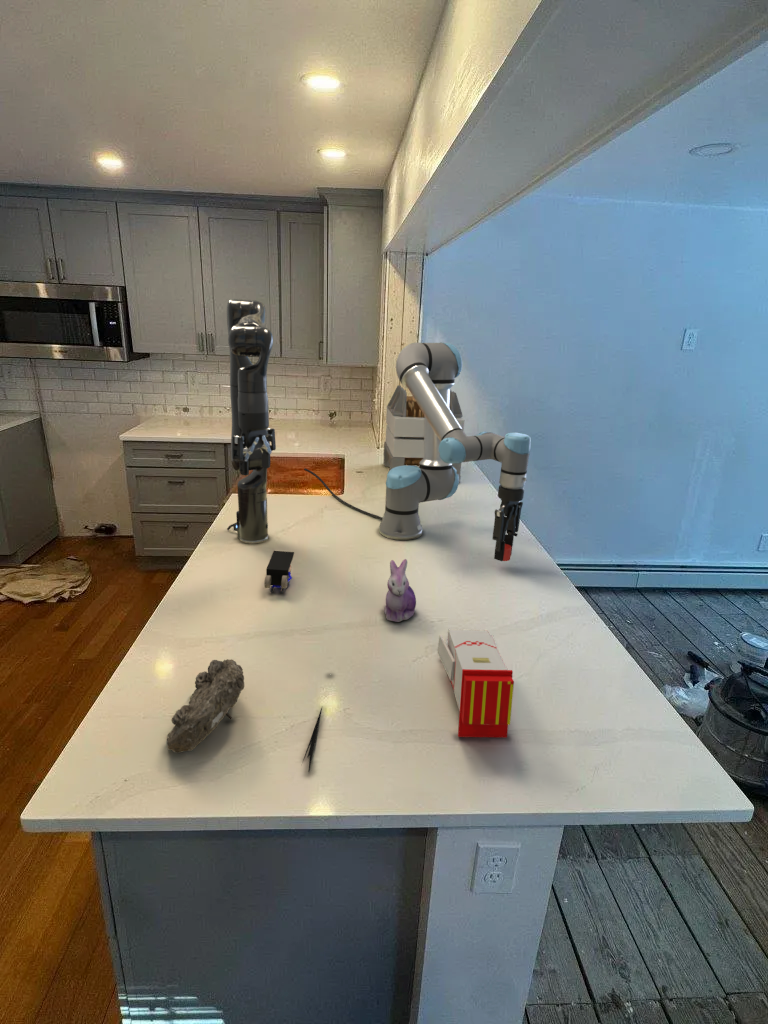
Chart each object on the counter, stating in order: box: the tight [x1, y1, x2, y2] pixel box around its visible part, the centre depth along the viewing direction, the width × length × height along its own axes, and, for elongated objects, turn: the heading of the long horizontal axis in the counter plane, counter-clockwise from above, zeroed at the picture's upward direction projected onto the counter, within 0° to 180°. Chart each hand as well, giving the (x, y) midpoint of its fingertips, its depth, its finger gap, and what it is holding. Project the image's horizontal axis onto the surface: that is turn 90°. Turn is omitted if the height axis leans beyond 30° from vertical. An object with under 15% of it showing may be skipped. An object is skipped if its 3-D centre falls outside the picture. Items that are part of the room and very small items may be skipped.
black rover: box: [264, 550, 295, 594], centre depth 159 cm, size 7×8×15 cm
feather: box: [301, 673, 332, 771], centre depth 108 cm, size 2×28×2 cm
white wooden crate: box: [383, 384, 465, 483], centre depth 268 cm, size 34×33×41 cm
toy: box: [437, 628, 515, 738], centre depth 117 cm, size 12×13×30 cm
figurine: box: [384, 558, 417, 623], centre depth 145 cm, size 9×10×15 cm
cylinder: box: [502, 544, 513, 562], centre depth 176 cm, size 5×5×4 cm
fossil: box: [166, 658, 245, 754], centre depth 106 cm, size 22×10×15 cm
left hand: (255, 471), depth 149 cm, fingers open, 8 cm apart
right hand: (502, 557), depth 176 cm, fingers closed on cylinder, 5 cm apart
